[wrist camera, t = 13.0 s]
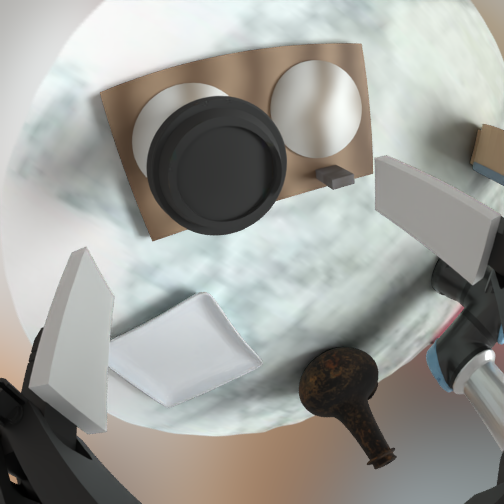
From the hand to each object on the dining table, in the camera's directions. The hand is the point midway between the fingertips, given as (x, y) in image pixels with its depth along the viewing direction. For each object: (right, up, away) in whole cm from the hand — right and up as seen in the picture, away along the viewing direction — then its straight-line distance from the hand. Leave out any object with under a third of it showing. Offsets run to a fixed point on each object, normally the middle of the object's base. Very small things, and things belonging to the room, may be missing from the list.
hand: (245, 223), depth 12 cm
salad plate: (-12, -17, +34) cm, 40 cm away
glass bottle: (+17, -26, +49) cm, 58 cm away
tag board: (+1, +13, +19) cm, 23 cm away
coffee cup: (-5, +11, +16) cm, 20 cm away
